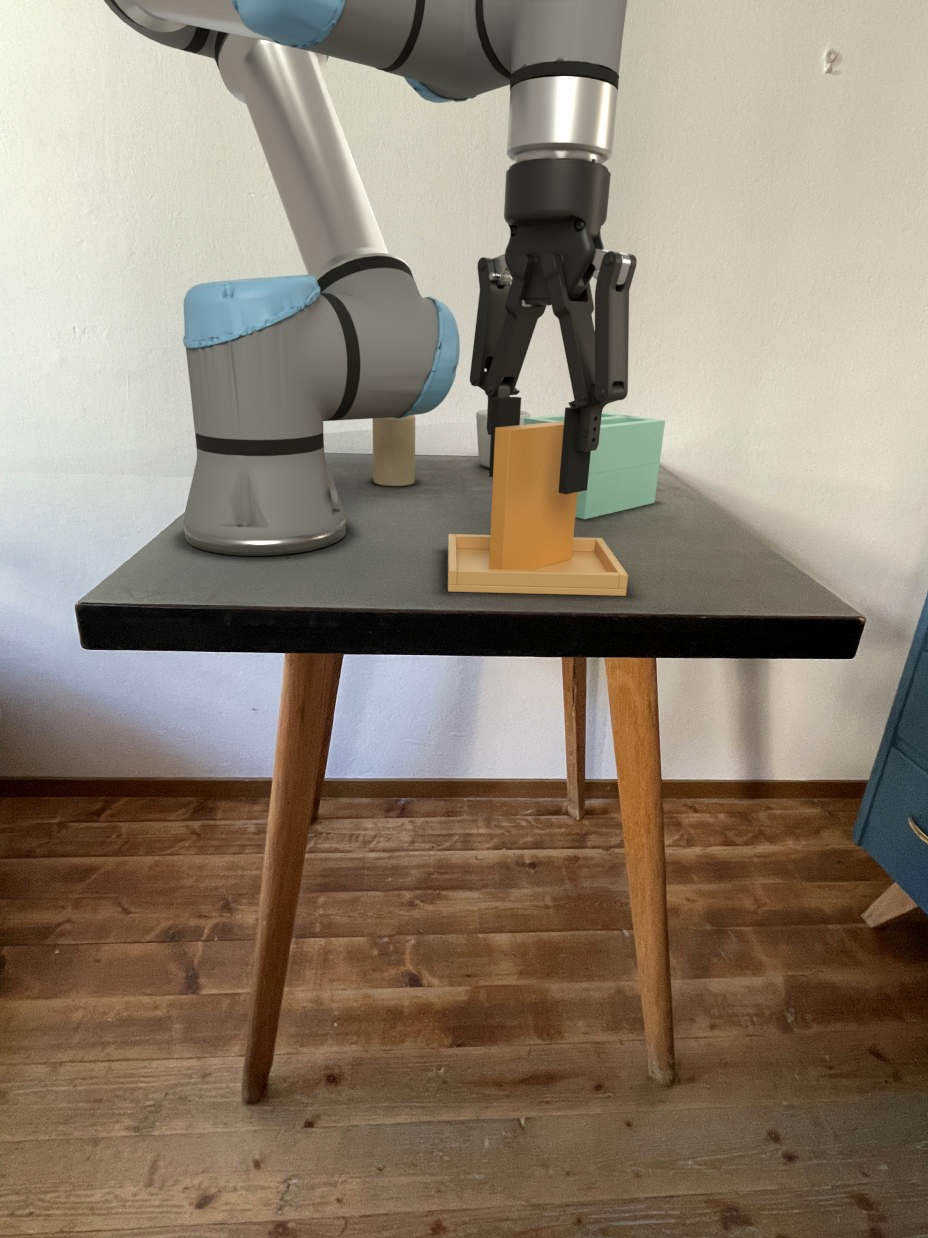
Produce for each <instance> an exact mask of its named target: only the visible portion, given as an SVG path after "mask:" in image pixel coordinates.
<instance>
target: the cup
mask: <svg viewBox="0 0 928 1238" xmlns="http://www.w3.org/2000/svg"><path fill="white" fill-rule="evenodd" d="M487 409H488V408H486V409H480V410H477V411H476V413H475V416H476V417H475V418H476V436H477V451H478V452H477V453H478V460H479V462H480V463H479V464H481V465H482V466H483V467H485V468H488V469H489V464H490V442H491V435H488V432H487V417H488V416H487ZM529 417H532V415H531V412H528V411H524V410H521V411H520V425H524V418H529Z"/></svg>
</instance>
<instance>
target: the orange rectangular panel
mask: <svg viewBox="0 0 928 1238" xmlns="http://www.w3.org/2000/svg"><path fill="white" fill-rule="evenodd" d="M563 429H564V421H559V422H549V423H538V424H527V425H517V426H506V427H496V428H495V447H494V468H493V477H492V490H491V491H492V492H491V512H490V534H489V535H490V552H489V569H504V570H534V569H538V568H542V567H545V566H549V565H552V564H556V563H559V562H563V561H566V560H570V559H572V548H573V537H575V525H576V524H575V523H576V517H575V515H576V504H577V493H578V492H575V493H570V494H562V493H558V490H559V478H560V466H561V454H562V441H563Z"/></svg>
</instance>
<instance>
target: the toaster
mask: <svg viewBox="0 0 928 1238" xmlns="http://www.w3.org/2000/svg"><path fill="white" fill-rule="evenodd" d="M564 417H565V413H564V414H555V415H554V414H552V415H543V416H531V417H529V418H524V425H527V424H538V423H549V422H559V421H564ZM665 426H666V420H665V419H657V418H650V417H649V418H648V417H642V416H635V415H629V414H628V415H627V414H620V413H612V412H604V411H602V416H601V426H600V436H599V445H598V447H597V449H596V450H594V451H591V455H590V465H589V476H588V486H587V490H586V491H581V492H578V493H577V504H576V515H575V518H577V519H581V520H588V519H593V518H597V517H600V516H605V515H609V514H614V513H617V512H623V511H625V510H626V511H627V510H630V509H634V508H638V507H643V506H647V505H652V504H655V501H656V494H657V486H658V479H659V470H660V462H661V456H662V448H663V441H664V432H665Z"/></svg>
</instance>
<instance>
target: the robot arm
mask: <svg viewBox="0 0 928 1238" xmlns="http://www.w3.org/2000/svg"><path fill="white" fill-rule="evenodd" d="M103 1H104V3H105V4H106V6H107V7H108V8H109V9H110V11H112V13H114V14H115V15H116V16H117V18H119V19H120V20H121V21H122V22H123V23H124V24H126V25H127V26H128V27H130V28H131V29H132V30H134V31H135V32H137V34H138V33H139V34H140V35H142V36H144V37H145V38H147V39H148V40H151V41H154V42H156V43H157V44H160V45H163V46H166V47H168V48H172V49H176V50H180V51H183V52H187V53H191V54H194V55H199V56H203V57H207V58H210V59H213V60H214V61H215V63H216V67H217V68H218V71H219V75H220V77H221V80H222V82H223V84H224V86H225V88H226V89H227V91H228V92H229V93H230V94H231V95H232V96H233V97H234V98H235V99H237V100H238V101H239V102H241V103H242V104H245V105H246V108H247V110H248V112H249V116H250V118H251V121H252V123H253V127H254V129H255V132H256V135H257V137H258V140H259V143H260V146H261V149H262V151H263V154H264V157H265V160H266V162H267V165H268V169H269V171H270V173H271V176H272V180H273V182H274V185H275V188H276V190H277V193H278V195H279V199H280V201H281V203H282V204H281V205H282V206H283V209H284V212H285V215H286V218H287V221H288V223H289V226H290V229H291V231H292V235H293V237H294V240H295V243H296V246H297V248H298V251H299V254H300V257H301V259H302V262H303V265H304V267H305V270H306V274H292V275H281V276H268V277H251V278H241V279H230V280H228V279H227V280H220V281H208V282H200V283H197V284H195V285H193V286H192V287H190V288H189V289H188V291H186V293H185V296H184V298H183V321H184V324H183V325H184V335H183V339H182V343H183V346H184V347H185V353H186V363H187V371H188V380H189V389H190V399H191V400H190V401H191V408H192V416H193V417H192V419H193V429H194V435H195V436H194V437H195V447H196V461H195V466H194V471H193V475H192V479H191V484H190V487H189V492H188V497H187V502H186V504H185V510H184V514H183V529H184V538H185V541H186V542H187V543H188V544H190V545H191V546H193V547H195V548H197V549H200V550H203V551H206V552H211V553H215V554H223V555H233V556H248V557H249V556H257V557H258V556H280V555H289V554H297V553H298V554H299V553H305V552H309V551H314V550H317V549H322V548H325V547H328V546H332V545H333V544H335V543H337V542H339V541H340V540H342V539H343V538H344V537H345V535H346V533H347V527H346V526H347V523H346V514H345V510H344V506H343V503H342V501H341V498H340V495H339V493H338V489H337V487H336V484H335V481H334V478H333V476H332V472H331V470H330V468H329V465H328V462H327V459H326V455H325V439H324V438H325V437H324V435H325V434H324V422H335V421H351V420H352V421H353V420H371V419H372V420H373V418H391V417H393V418H396V419H401V418H404V417H407V416H409V415H414V416H417V415H425V414H427V413H430V412H432V411H433V410H435V409H436V408H438V407H439V406H440V405H441V404H442V403H443V402H444V401H445V399H446V397H447V396H448V395H449V393H450V390H451V389H452V387H453V385H454V382H455V379H456V376H457V374H456V373H457V368H458V365H459V362H460V353H461V352H460V351H461V348H460V347H461V345H460V343H461V342H460V334H459V327H458V324H457V323H458V322H457V321H456V317H455V316H454V313H453V312H452V310H451V309H450V307H449V306H448V305H447V304H446V303H445V302H443V301H440V300H438V299H437V298H435V297H433V296H426V297H423V296H422V295H421V293H420V291H419V288H418V285H417V283H416V281H415V278H414V274H413V272H412V270H411V267H410V266H409V264H408V263H407V262H406V261H405V260H404V259H403V258H401V257H399V256H397V255H395V254H391V253H389V250H388V247H387V245H386V242H385V241H384V238H383V235H382V232H381V230H380V227H379V224H378V221H377V219H376V216H375V213H374V210H373V208H372V205H371V203H370V202H371V201H370V200H369V198H368V195H367V192H366V189H365V186H364V184H363V181H362V179H361V176H360V173H359V170H358V168H357V166H356V163H355V160H354V157H353V155H352V151H351V149H350V147H349V143H348V141H347V138H346V136H345V132H344V130H343V128H342V125H341V123H340V120H339V117H338V115H337V112H336V109H335V106H334V103H333V100H332V99H331V96H330V93H329V90H328V88H327V85H326V82H325V80H324V77H323V74H324V71H325V69H326V66H327V65H326V64H327V62H328V60H329V57H331V58H334V59H338V60H343V61H347V62H351V63H355V64H359V65H362V66H367V67H371V68H374V69H376V70H378V71H381V72H382V71H383V72H384V73H388V74H391V75H396V76H399V77H403V78H404V80H405V82H406V83H407V84H408V85H409V86H410V87H411V88H413V90H414V91H415V93H417V95H419V96H420V98H422V99H424V100H426V101H428V102H431V103H436V104H444V103H449V102H450V103H451V102H455V103H461V102H465V101H466V102H467V101H468V100H469V99H473V100H474V99H475V98H476V97H478V96H479V95H482V94H485V93H488V92H491V91H494V90H497V89H500V88H504V87H507V86H509V107H508V123H507V124H508V125H507V141H506V155H507V157H508V158H509V159H510V160H512V161H513V162H514V163H513V164H511V165H510V166H509V167H508V169H507V170H506V171H505V185H504V186H505V187H504V207H503V218H504V221H505V223H507V225H508V227H509V231H510V232H509V233H510V235H509V239H508V244H507V246H506V248H505V251H504V253H502V254H501V255H498V256H496V257H485V256H482V257H480V258H479V259H478V261H477V267H476V268H477V275H478V285H479V294H478V303H477V313H476V321H475V327H474V328H475V329H474V336H473V337H474V338H473V346H472V355H471V363H470V374H469V383H470V385H471V386H472V387H478V388H480V389H481V390H483V391H484V393H485V395H486V397H487V408H486V409H487V416H488V417H487V432H488V435H491V442H490V464H489V468H488V477H489V478H493V468H494V447H495V428H496V427H506V426H517V425H520V411H522V397H520V396H517V395H518V394H520V392H521V390H520V389H518V388H517V387H516V386H517V383H518V380H519V377H520V374H521V371H522V368H523V365H524V362H525V359H526V355H527V353H528V350H529V347H530V344H531V341H532V338H533V335H534V332H535V329H536V326H537V323H538V320H539V319H540V318H542V316H543V315H544V314H545V312H546V308H547V306H551V309H552V313H553V315H554V317H556V318H557V319H558V324H559V329H560V333H561V338H562V342H563V343H562V344H563V349H564V354H565V359H566V364H567V365H566V366H567V370H568V374H569V379H570V380H569V381H570V384H571V391H572V395H573V400H572V401H569V402H568V405H569V406H567V407H565V408H564V414H565V417H564V429H563V441H562V454H561V466H560V478H559V490H558V493H562V494H570V493H575V492H581V491H586V490H587V486H588V476H589V465H590V455H591V451H594V450H596V449H597V447H598V445H599V436H600V426H601V416H602V412H603V410H604V408H605V406H607V405H609V404H611V403H614V402H617V401H623V400H625V399H626V398H627V396H628V393H629V337H630V336H629V335H630V334H629V331H630V329H629V328H630V290H631V286H632V284H633V283H632V282H633V279H634V275H635V273H636V268H637V264H638V262H637V261H638V260H637V257H636V256H635V254H633V253H626V252H620V251H619V252H618V251H613V250H606V249H605V247H604V244H603V240H602V235H601V229H602V226H604V224H605V223H606V221H607V218H608V210H609V209H608V208H609V197H610V187H611V176H612V173H611V172H610V171H609V168H608V167H607V166H606V165H604V163H605V162H607V161H608V160H610V158H612V156H613V150H614V140H615V139H614V138H615V128H616V116H617V105H618V94H619V83H620V80H619V79H620V68H621V67H620V65H621V58H622V57H621V55H622V49H623V47H622V46H623V38H624V29H625V22H626V13H627V6H628V0H103ZM592 278H594V279H595V280H596V283H595V289H594V299H593V294H592V289H591V288H592V287H591V284H590V282H591V280H592ZM593 313H594V319H593V315H592V314H593ZM593 320H594V321H593Z"/></svg>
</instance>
